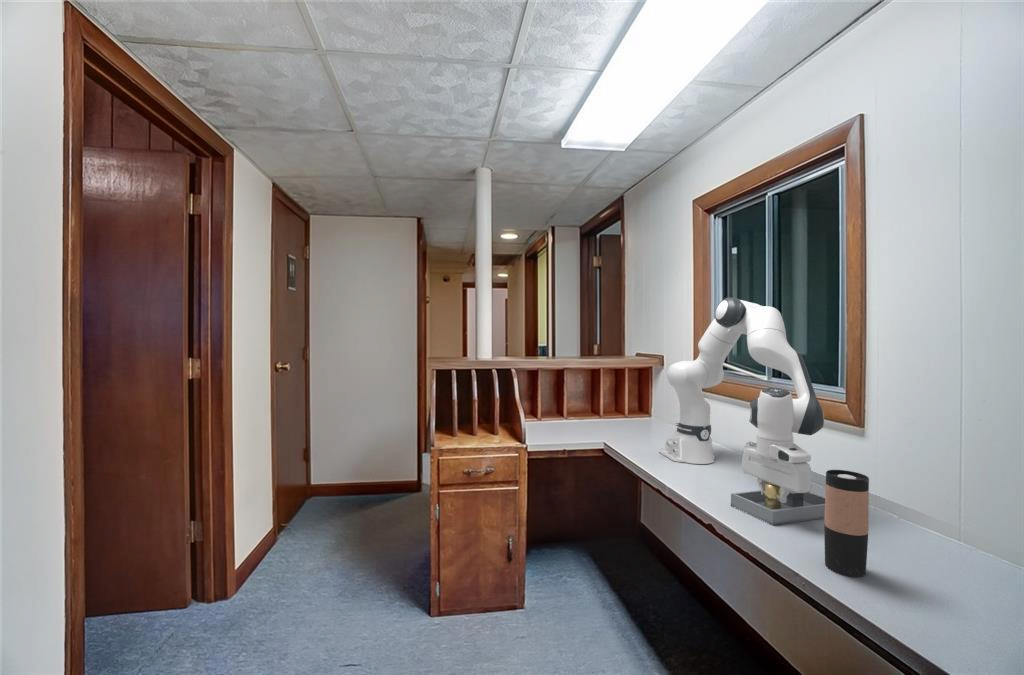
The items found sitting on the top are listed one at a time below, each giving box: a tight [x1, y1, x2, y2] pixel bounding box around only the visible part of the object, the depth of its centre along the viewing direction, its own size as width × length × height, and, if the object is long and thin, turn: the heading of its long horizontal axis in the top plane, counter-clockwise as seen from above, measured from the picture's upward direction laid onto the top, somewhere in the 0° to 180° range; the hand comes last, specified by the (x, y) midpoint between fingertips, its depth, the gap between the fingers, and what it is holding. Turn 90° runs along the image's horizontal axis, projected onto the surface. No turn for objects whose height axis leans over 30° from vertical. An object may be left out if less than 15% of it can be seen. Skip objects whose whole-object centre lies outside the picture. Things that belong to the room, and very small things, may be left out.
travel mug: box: [823, 469, 870, 578], centre depth 102 cm, size 8×8×20 cm
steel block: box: [782, 490, 804, 508], centre depth 139 cm, size 4×4×4 cm
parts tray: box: [730, 489, 825, 526], centre depth 136 cm, size 15×24×4 cm, turn 108°
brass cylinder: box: [765, 482, 782, 509], centre depth 132 cm, size 4×4×6 cm
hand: (773, 498), depth 132 cm, fingers closed on brass cylinder, 4 cm apart
